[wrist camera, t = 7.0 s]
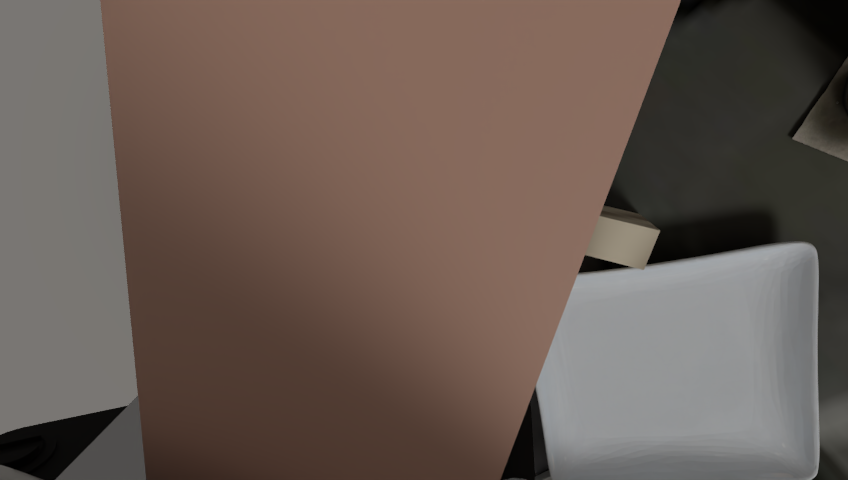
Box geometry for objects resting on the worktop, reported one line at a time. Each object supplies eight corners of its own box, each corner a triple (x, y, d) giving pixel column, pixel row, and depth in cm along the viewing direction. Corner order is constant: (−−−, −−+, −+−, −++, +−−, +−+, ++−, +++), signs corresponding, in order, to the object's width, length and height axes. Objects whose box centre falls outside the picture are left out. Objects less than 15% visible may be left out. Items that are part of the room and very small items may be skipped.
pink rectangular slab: (453, 397, 21) (350, 877, 8) (380, 374, 22) (175, 791, 9) (546, 67, 15) (708, -73, 2) (442, 47, 16) (83, -165, 3)
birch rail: (639, 213, 33) (660, 230, 28) (625, 248, 34) (643, 270, 29) (336, 141, 36) (310, 146, 31) (332, 174, 37) (306, 183, 32)
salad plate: (791, 225, 31) (824, 238, 28) (796, 453, 36) (823, 486, 33) (511, 268, 37) (511, 283, 33) (549, 460, 42) (552, 489, 38)
